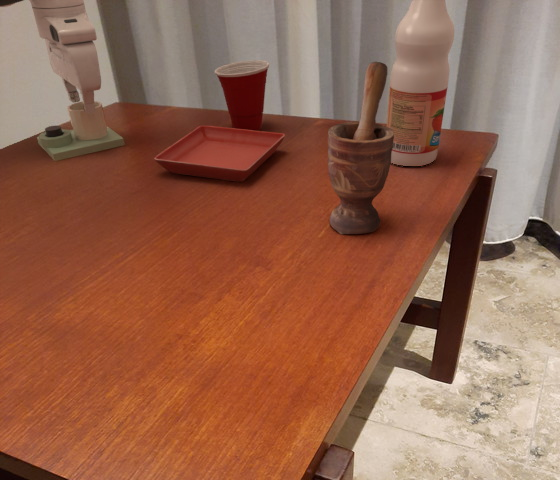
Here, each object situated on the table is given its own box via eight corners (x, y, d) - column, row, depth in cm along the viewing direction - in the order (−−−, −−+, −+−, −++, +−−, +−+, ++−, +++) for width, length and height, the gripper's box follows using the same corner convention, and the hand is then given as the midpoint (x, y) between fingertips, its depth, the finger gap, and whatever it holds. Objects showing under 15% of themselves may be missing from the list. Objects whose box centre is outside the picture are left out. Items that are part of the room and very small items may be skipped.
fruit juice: (378, 151, 103) (393, -35, 85) (428, 147, 103) (454, -38, 85) (389, 170, 96) (408, -29, 78) (443, 166, 96) (474, -32, 78)
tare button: (49, 139, 106) (47, 131, 105) (45, 135, 108) (43, 127, 107) (65, 136, 108) (62, 128, 107) (60, 132, 110) (58, 124, 109)
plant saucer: (247, 188, 92) (246, 168, 90) (154, 176, 97) (151, 157, 95) (287, 151, 105) (286, 133, 102) (202, 142, 110) (200, 124, 108)
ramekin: (81, 142, 108) (73, 112, 105) (71, 134, 112) (63, 105, 109) (112, 135, 111) (106, 106, 107) (102, 127, 115) (95, 99, 111)
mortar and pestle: (325, 202, 87) (327, 59, 74) (380, 201, 86) (393, 58, 73) (326, 237, 78) (330, 82, 65) (388, 236, 78) (404, 80, 65)
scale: (52, 162, 105) (47, 145, 103) (36, 144, 112) (31, 129, 110) (125, 145, 110) (121, 129, 108) (104, 129, 118) (101, 115, 116)
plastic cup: (226, 120, 120) (220, 58, 112) (275, 121, 118) (273, 58, 111) (215, 137, 112) (207, 72, 104) (267, 138, 110) (264, 71, 102)
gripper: (30, 18, 104) (51, 97, 113) (61, 34, 91) (82, 122, 100) (63, 15, 107) (81, 92, 116) (98, 30, 94) (115, 116, 103)
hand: (82, 106), depth 108 cm, fingers open, 8 cm apart
